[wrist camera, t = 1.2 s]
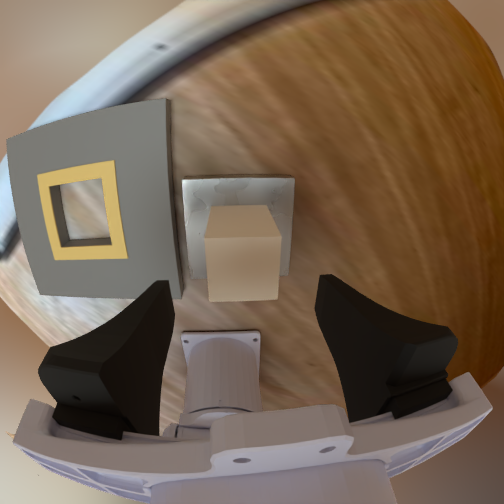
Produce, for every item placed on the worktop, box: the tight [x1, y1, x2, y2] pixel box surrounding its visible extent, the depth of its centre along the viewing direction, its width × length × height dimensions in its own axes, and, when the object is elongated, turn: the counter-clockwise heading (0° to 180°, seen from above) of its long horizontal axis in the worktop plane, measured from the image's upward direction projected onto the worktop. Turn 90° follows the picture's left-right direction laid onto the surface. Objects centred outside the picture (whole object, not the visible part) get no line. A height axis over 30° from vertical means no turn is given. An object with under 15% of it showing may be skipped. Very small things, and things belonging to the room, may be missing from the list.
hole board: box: [7, 98, 184, 299], centre depth 19 cm, size 16×16×2 cm
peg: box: [204, 205, 282, 302], centre depth 18 cm, size 4×4×6 cm
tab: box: [182, 175, 295, 279], centre depth 21 cm, size 8×8×2 cm
